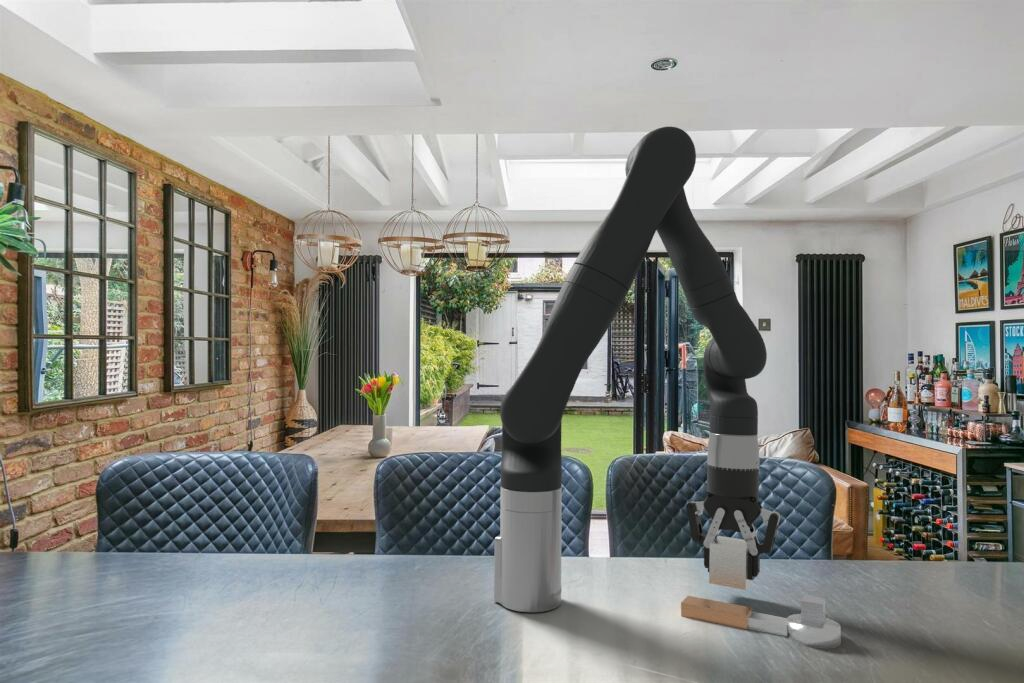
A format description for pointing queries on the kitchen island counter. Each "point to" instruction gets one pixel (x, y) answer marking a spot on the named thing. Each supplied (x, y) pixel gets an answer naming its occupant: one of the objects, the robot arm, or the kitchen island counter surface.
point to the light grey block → (729, 562)
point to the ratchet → (771, 620)
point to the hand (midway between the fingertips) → (731, 574)
